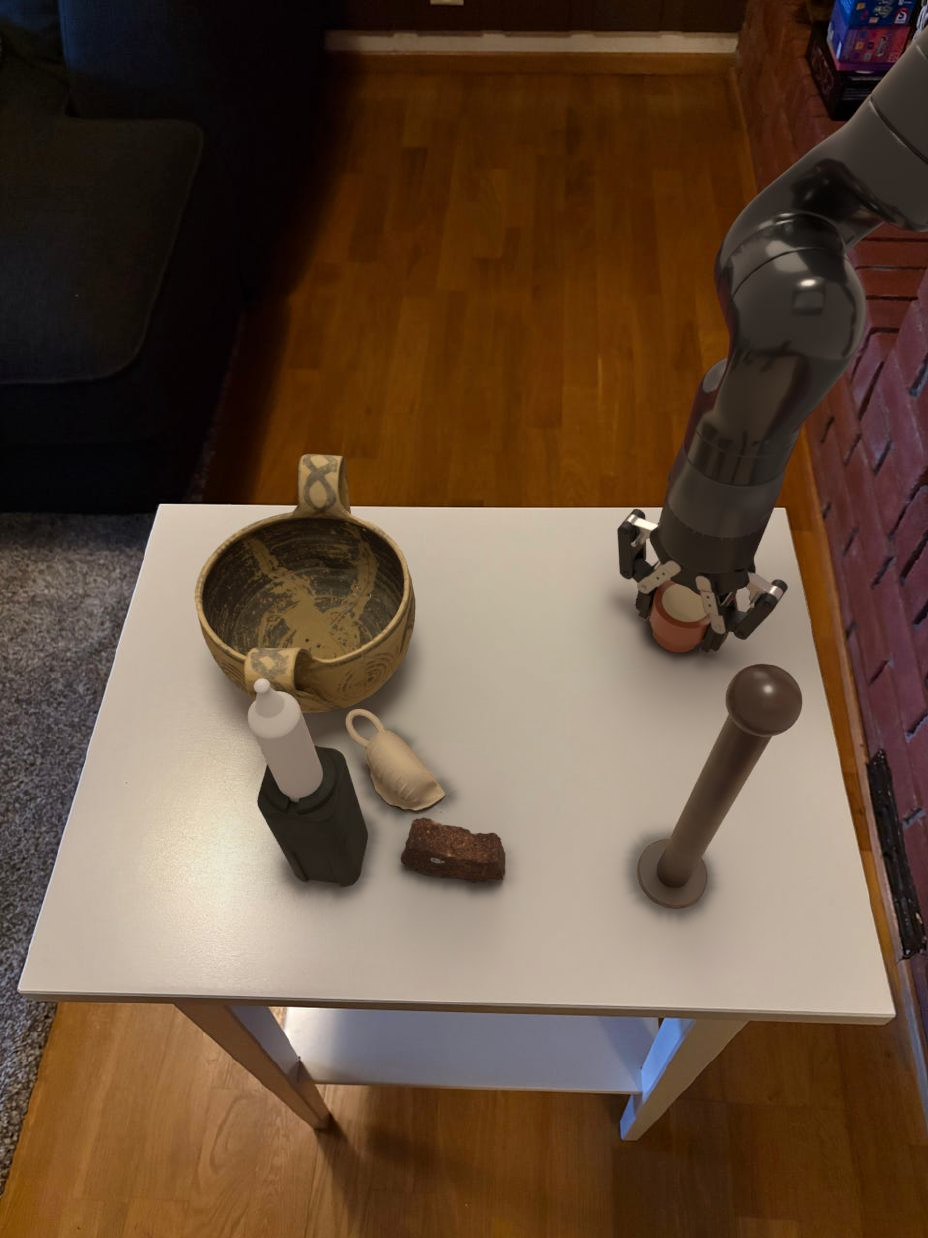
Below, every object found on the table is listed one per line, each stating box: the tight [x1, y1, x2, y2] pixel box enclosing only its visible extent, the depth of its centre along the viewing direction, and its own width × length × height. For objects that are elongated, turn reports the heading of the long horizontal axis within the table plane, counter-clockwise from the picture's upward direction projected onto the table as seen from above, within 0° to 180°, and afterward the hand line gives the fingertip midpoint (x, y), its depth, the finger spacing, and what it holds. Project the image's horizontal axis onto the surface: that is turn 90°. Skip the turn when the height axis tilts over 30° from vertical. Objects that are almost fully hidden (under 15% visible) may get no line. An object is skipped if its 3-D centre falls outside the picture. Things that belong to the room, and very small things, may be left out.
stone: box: [400, 817, 506, 884], centre depth 63 cm, size 8×3×5 cm, turn 80°
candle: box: [247, 678, 369, 888], centre depth 56 cm, size 5×5×25 cm
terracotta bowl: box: [648, 579, 711, 653], centre depth 75 cm, size 5×5×4 cm
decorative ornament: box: [345, 708, 446, 811], centre depth 67 cm, size 4×8×5 cm, turn 37°
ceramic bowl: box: [194, 453, 416, 713], centre depth 69 cm, size 22×17×15 cm
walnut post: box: [637, 663, 803, 909], centre depth 53 cm, size 5×5×28 cm
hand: (677, 627), depth 76 cm, fingers closed on terracotta bowl, 5 cm apart
